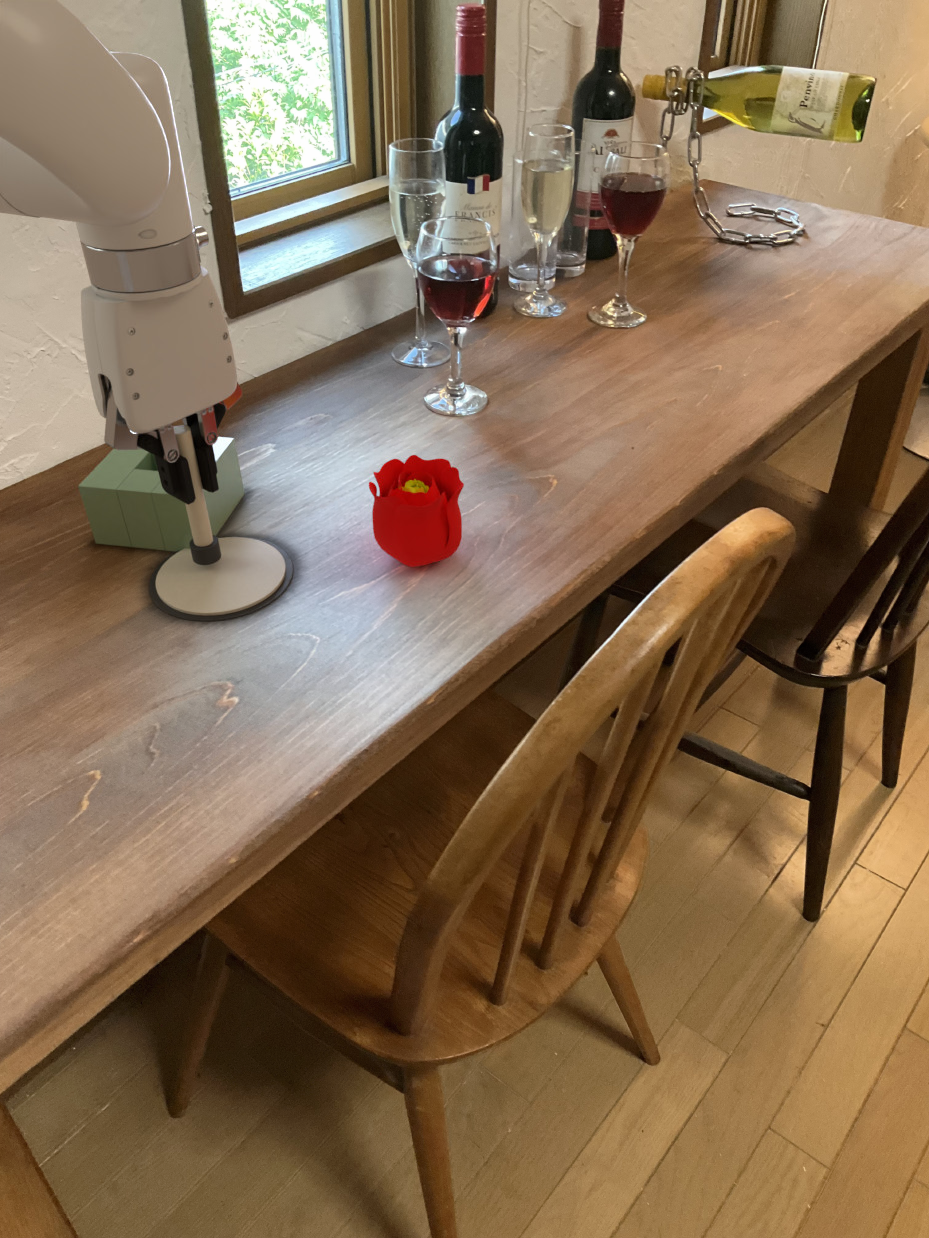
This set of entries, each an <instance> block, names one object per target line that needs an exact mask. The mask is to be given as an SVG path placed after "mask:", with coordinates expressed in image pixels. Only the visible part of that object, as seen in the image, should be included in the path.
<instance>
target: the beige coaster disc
mask: <svg viewBox="0 0 929 1238" xmlns="http://www.w3.org/2000/svg"><path fill="white" fill-rule="evenodd" d="M216 537H217V536H216ZM217 538H218V541H219V545H220V550H221V558H220V560H218V561H217V562H215V563H213V564H210V565H198V564H196V563H195V562H194V561H193V559H192V554H191V550H190V549H183V550H181V551H176V552H175V551H174V552H173V553H171V554H170V555H168V556H167V557H166V558H165V559H163V561H161V562H160V563H159V564H158V566H157V567H156V568H155V569H154V571H153V573H152V574H151V577H150V579H149V581H148V582H149V584H148V592H149V596H150V599H151V600H152V602H153V604H155V606H156V607H157V608H158V609H160V610H161V611H162V612H163V613H165V614H167V615H169V616H172V617H175V618H177V619H181V620H184V621H188V622H189V621H191V622H200V623H211V622H223V621H229V620H234V619H238V618H242V617H245V616H248V615H252V614H253V613H256V612H258V611H260V610H262V609H264V608H266V607H268V606H269V605H271V604H272V603H274V602H275V601H276V600H277V599H278V598H280V597H281V596H282V595H283V594H284V592H285V591H286V590H287V589H288V587H289V586H290V584H291V582H292V579H293V576H294V564H293V562H292V558H291V557H290V556H289V554H288V553H287V552H286V550H284V549H283V548H282V547H280V546H279V545H277V544H275V543H273V542H271V541H268V540H266V539H263V538H259V537H254V536H248V535H247V536H246V535H229V536H228V535H227V536H218V537H217Z"/></svg>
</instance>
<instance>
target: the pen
mask: <svg viewBox="0 0 929 1238" xmlns="http://www.w3.org/2000/svg"><path fill="white" fill-rule="evenodd" d="M173 429H174V433H175V437H176V441H177V445H178V449H179V454H180V455H181V456H183V457H185V458H186V459H187V460H188V463H189V468H190V473H191V478H192V482H193V487H194V492H195V497H196V499H195V501H194V502H193V503H191V504H189V505H188V504H186V503H185V505H186V509H187V514H188V518H189V523H190V527H191V532H192V536H193V539H192V540H191V541H190V543H189V545H190V550H191V554H192V559H193V561H194V562H195V563H196V564H198V565H210V564H213V563H215V562H217V561H218V560H220V558H221V550H220V545H219V541H218V538H217V535H216V536H214V535H212V531H211V526H210V521H209V516H208V511H207V507H206V502H205V497H204V492H203V487H202V482H201V478H200V473H199V468H198V463H197V458H196V454H195V449H194V444H193V439H192V434H191V429H190V427H189V426H186V425H183V424H179V425H173Z"/></svg>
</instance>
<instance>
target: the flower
mask: <svg viewBox="0 0 929 1238" xmlns="http://www.w3.org/2000/svg"><path fill="white" fill-rule="evenodd" d="M372 472H373V476H374V478H375V481H376V484H377V485H376V484H375V483H374V482H372V481H369V482H368V488H369V492H370V493H371V495H372V496H373V504H372V515H371V516H372V517H371V519H372V530H373V537H374V539H375V541H376V544H377V545H378V546H379V547H380V549H382V551H384V552H385V553H386V554H387V555H388V556H390V557H391V558H393V559H395V560H396V561H398V562H399V563H401V564H402V565H403V566H407V567H411V568H415V567H422V566H426V565H429V564H433V563H438V562H440V561H443V560H446V559H448V558H450V557H451V556H452V555H454V554H455V552H457V550H458V549H459V547H460V545H461V542H462V536H463V534H462V533H463V521H462V512H461V509H460V506H459V497H460V495H461V494H462V491H463V489H464V487H465V484H464V482H463V481H462V480H461V479H460V471H459V469H458V468H457V467H455V466H452V464H451V462H450V461H449V460H448V459H446V458H434V459H423V458H421V457H419V456H418V455H417V454H411V455H409V456H408V457H407V458H406V460H405V461H404V462H403V461H402V460H401V459H399V458H392V459H390V460H388V461H386V462H384V464H382V466H381V467H380V470H379V471H372ZM377 487H378V488H377ZM378 491H379V495H377V494H378Z"/></svg>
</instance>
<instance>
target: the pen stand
mask: <svg viewBox="0 0 929 1238" xmlns="http://www.w3.org/2000/svg"><path fill="white" fill-rule="evenodd" d="M236 444H237V443H236V439H235V438H234V437H225V436H218V439H217V441H216V443H215V444H213V450H214V455H215V460H216V465H217V471H218V472H217V474H216V476H217V481H218V486H219V490H217V491H215V492H213V493H212V492H208V491H206V490H204V489H203V492H204V497H205V502H206V507H207V511H208V516H209V521H210V526H211V531H212V535H214V536H216V537H217V535H218V533H219V532H220V531H221V529H222V528H223V526H224V525H225V523H226V522H227V520H228V519H229V517H230V516H231V515H232V513H233V512H234V510H235V509H236V507H237V506H238V504H239V503H240V501H241V500H242V499H243V498H244V495H245V493H246V492H245V487H244V482H243V478H242V471H241V466H240V461H239V455H238V451H237V445H236ZM77 487H78V491H79V494H80V497H81V501H82V504H83V507H84V510H85V513H86V516H87V519H88V523H89V526H90V529H91V532H92V533H91V534H92V535H93V539H94V542H95V544H98V545H107V546H117V547H119V546H120V547H127V548H137V549H138V548H139V549H148V550H157V551H168V552H174V553H175V552H176V551H181V550H183V549H190V545H189V543H190V541H191V540H192V539H193V536H192V532H191V527H190V523H189V518H188V514H187V509H186V505H185V503H184V502H182V501H180V500H179V499H177V498H175V497H173V496H171V495H170V494H168V493H166V492H165V491H164V489H163V487H162V485H161V481H160V476H159V472H158V468H157V464H156V459H155V455H154V454H152V453H150V452H148V451H146V450H144V449H137V450H116V449H114V448H112V449H111V451H109V453H108V454H107V455H106V456H105V457H104V458H103V459H102V460H101V461H100V462H99V463H98V464H97V465H96V466H95V468H93V469H92V471H91V472H89V474H87V476H86V477H85V478H84V479H83V480H82V481H81V482H80V483H79V484H78V485H77Z"/></svg>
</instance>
